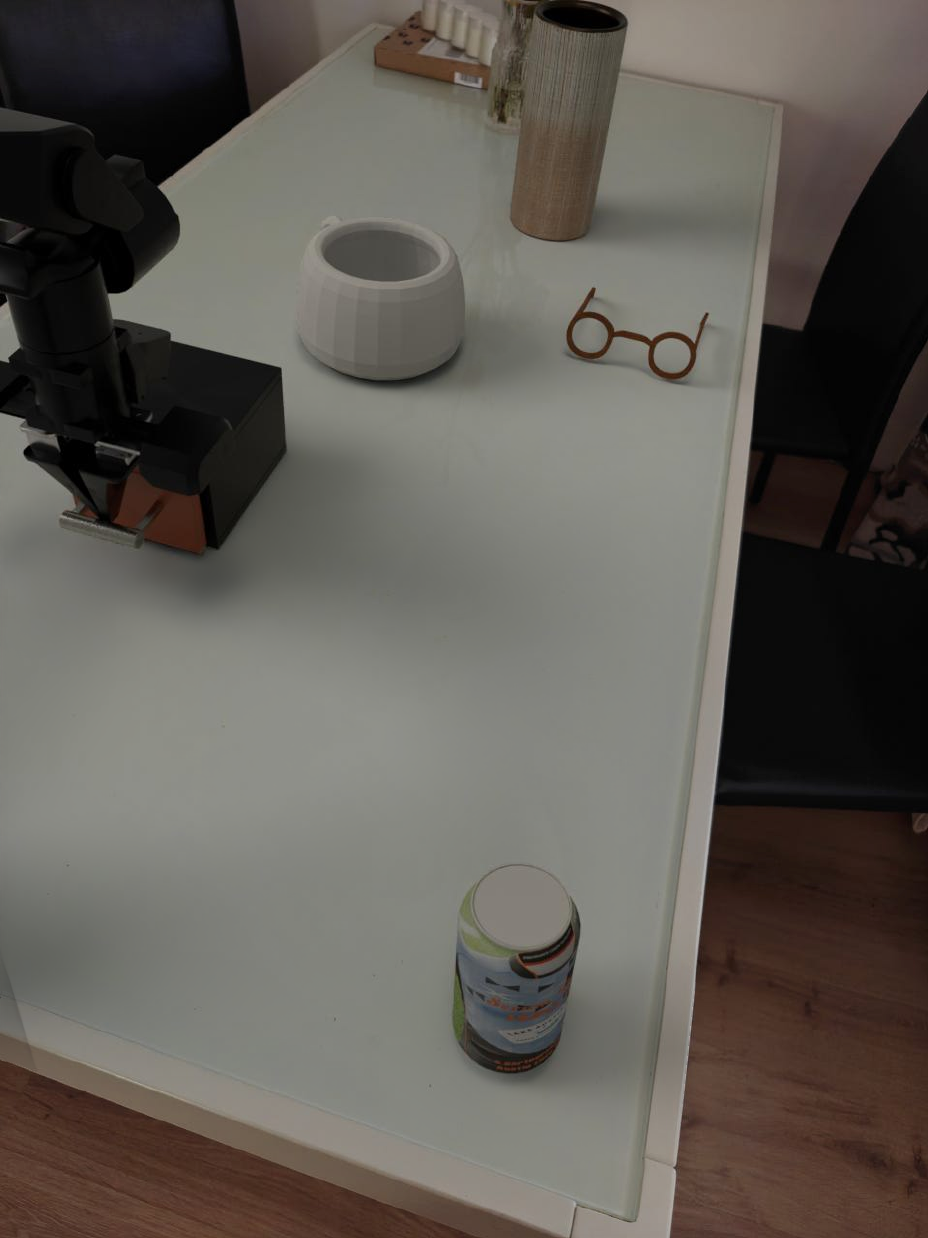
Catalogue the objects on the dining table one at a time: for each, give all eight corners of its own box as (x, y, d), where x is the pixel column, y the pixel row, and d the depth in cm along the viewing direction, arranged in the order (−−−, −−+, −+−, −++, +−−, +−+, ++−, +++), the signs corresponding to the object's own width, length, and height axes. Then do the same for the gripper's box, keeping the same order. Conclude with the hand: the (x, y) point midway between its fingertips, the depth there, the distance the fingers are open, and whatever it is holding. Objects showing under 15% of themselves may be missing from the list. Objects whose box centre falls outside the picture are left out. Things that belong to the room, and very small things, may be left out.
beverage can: (481, 1103, 52) (507, 1017, 44) (422, 979, 57) (435, 878, 48) (582, 1051, 55) (626, 960, 46) (518, 935, 59) (547, 831, 50)
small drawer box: (218, 550, 79) (206, 464, 72) (85, 513, 80) (63, 427, 74) (287, 450, 88) (281, 367, 81) (166, 419, 89) (152, 335, 83)
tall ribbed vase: (585, 206, 125) (621, 2, 108) (595, 244, 118) (635, 33, 102) (507, 200, 124) (531, -6, 108) (511, 238, 118) (538, 25, 101)
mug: (493, 366, 99) (504, 273, 92) (342, 407, 93) (341, 311, 85) (392, 266, 111) (395, 176, 104) (252, 296, 104) (244, 203, 97)
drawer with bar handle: (171, 595, 74) (157, 527, 69) (45, 559, 75) (23, 490, 70) (266, 459, 85) (261, 393, 80) (156, 430, 87) (144, 363, 82)
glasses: (561, 355, 102) (569, 311, 98) (590, 295, 110) (598, 253, 106) (687, 387, 100) (700, 343, 96) (706, 323, 108) (719, 281, 104)
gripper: (260, 300, 65) (274, 483, 77) (7, 239, 68) (56, 426, 79) (181, 390, 58) (208, 579, 69) (-101, 319, 60) (-29, 512, 72)
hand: (110, 518), depth 73 cm, fingers closed, pressing on drawer with bar handle
